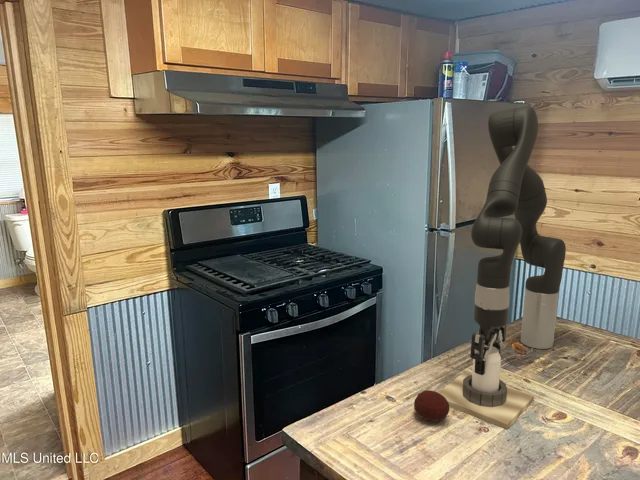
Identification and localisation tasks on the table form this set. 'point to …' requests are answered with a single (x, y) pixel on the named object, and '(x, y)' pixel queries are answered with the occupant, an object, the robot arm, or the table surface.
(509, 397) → the ring board
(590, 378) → the table surface
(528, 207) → the robot arm
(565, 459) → the table surface
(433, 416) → the potato
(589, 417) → the table surface
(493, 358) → the beverage can
